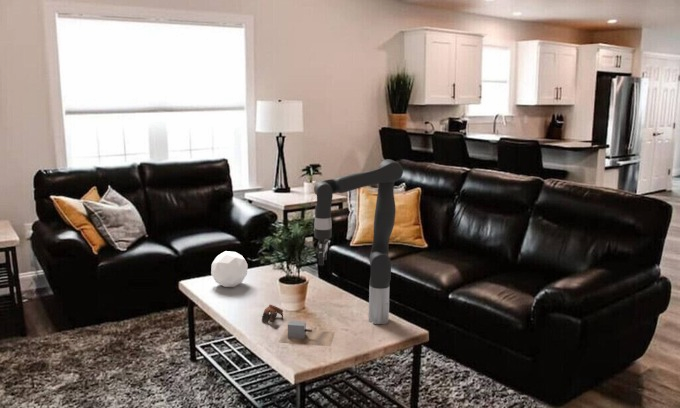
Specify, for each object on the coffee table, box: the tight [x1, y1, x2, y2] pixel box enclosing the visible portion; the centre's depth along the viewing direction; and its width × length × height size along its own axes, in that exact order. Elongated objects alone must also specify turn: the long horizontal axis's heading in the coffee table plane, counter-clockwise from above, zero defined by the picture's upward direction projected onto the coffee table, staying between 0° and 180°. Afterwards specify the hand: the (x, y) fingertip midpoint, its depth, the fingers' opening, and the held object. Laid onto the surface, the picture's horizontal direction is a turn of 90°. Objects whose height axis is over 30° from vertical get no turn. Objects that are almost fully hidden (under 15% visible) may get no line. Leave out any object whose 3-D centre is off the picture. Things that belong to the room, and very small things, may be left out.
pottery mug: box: [261, 304, 284, 324], centre depth 266 cm, size 12×10×8 cm
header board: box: [278, 328, 335, 347], centre depth 247 cm, size 22×14×5 cm, turn 83°
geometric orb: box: [210, 250, 249, 288], centre depth 311 cm, size 19×20×20 cm
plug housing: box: [287, 320, 313, 339], centre depth 247 cm, size 10×4×6 cm, turn 83°
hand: (322, 262), depth 256 cm, fingers open, 8 cm apart
